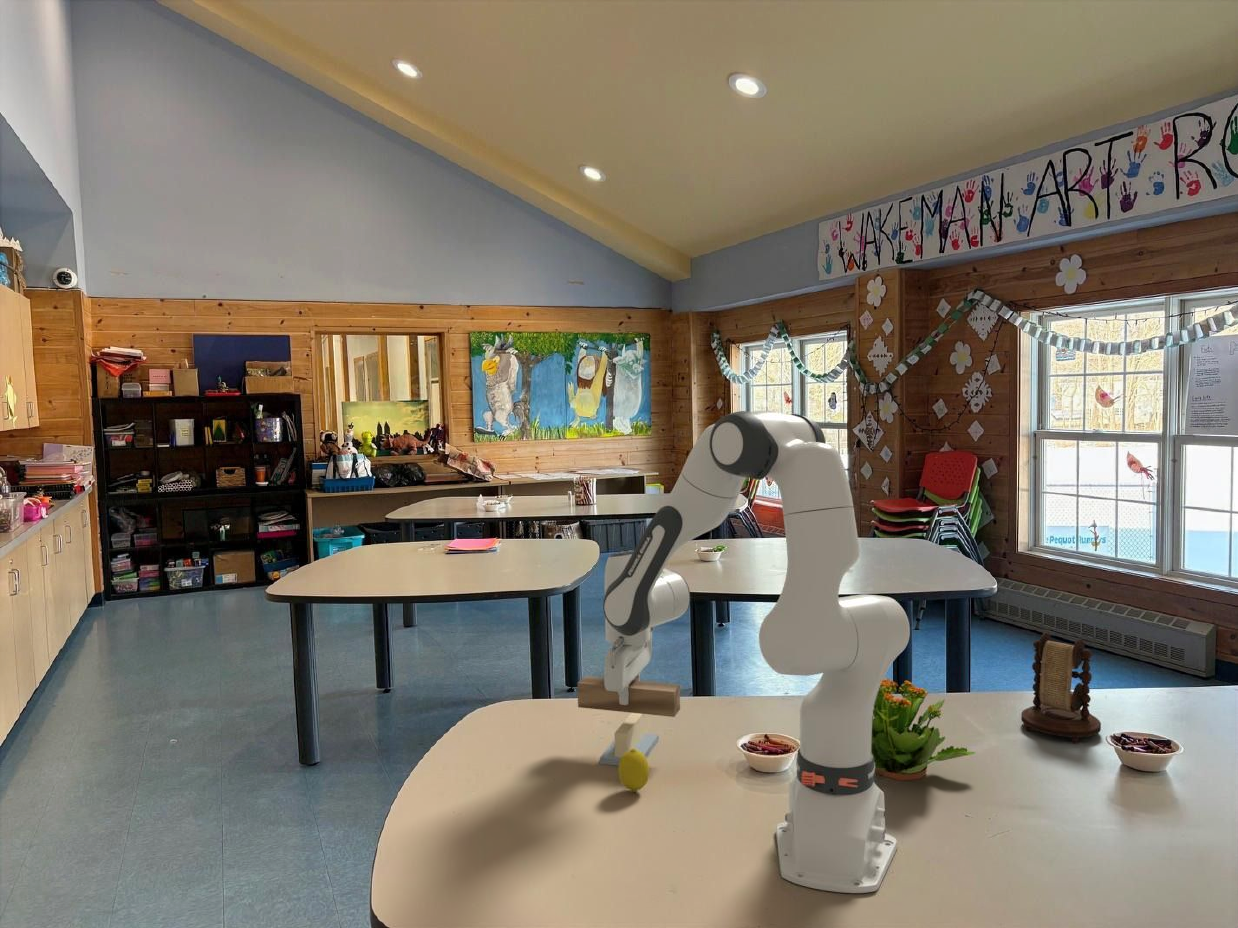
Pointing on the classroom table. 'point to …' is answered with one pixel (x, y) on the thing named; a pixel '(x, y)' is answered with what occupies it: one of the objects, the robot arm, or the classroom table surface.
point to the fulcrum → (629, 740)
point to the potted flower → (906, 733)
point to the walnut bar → (642, 697)
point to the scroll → (1061, 691)
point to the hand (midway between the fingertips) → (629, 698)
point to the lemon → (633, 770)
